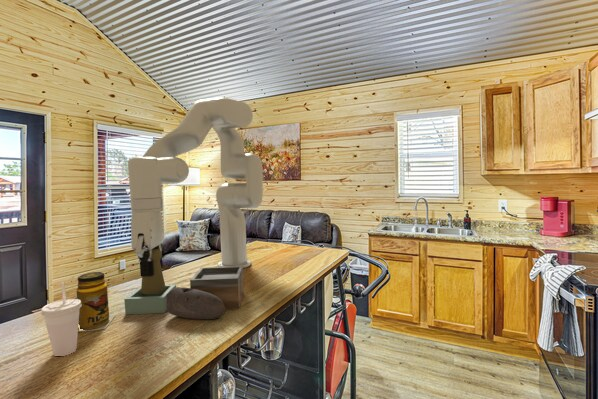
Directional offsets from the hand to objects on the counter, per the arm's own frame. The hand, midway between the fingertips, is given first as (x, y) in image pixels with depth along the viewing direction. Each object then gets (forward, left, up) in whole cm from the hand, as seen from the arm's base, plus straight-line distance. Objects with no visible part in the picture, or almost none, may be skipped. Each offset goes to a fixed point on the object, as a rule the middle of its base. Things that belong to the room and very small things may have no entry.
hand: (152, 271), depth 85 cm
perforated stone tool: (+9, +14, -10) cm, 19 cm away
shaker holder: (0, 0, -9) cm, 9 cm away
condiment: (+10, -11, -10) cm, 17 cm away
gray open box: (-1, +17, -9) cm, 20 cm away
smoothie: (+22, -9, -9) cm, 25 cm away
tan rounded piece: (0, 0, -5) cm, 5 cm away
